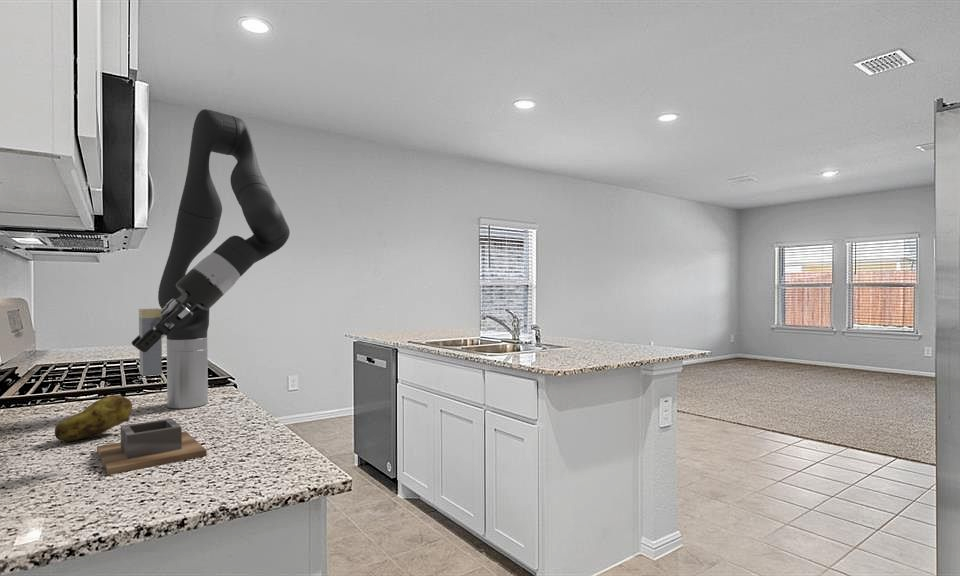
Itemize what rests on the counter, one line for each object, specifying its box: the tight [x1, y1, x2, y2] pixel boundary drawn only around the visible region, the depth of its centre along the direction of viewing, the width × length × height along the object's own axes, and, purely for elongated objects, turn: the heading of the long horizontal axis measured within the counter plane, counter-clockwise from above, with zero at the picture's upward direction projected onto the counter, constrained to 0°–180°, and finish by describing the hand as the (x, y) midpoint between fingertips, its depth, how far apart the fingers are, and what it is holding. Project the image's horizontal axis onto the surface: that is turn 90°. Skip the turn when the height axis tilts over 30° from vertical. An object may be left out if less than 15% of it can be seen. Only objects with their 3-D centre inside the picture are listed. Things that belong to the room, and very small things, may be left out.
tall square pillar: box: [138, 307, 163, 377], centre depth 100 cm, size 4×3×12 cm
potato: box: [54, 394, 133, 443], centre depth 111 cm, size 8×13×8 cm, turn 123°
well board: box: [96, 418, 208, 476], centre depth 100 cm, size 16×15×5 cm
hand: (137, 347), depth 99 cm, fingers closed on tall square pillar, 3 cm apart
